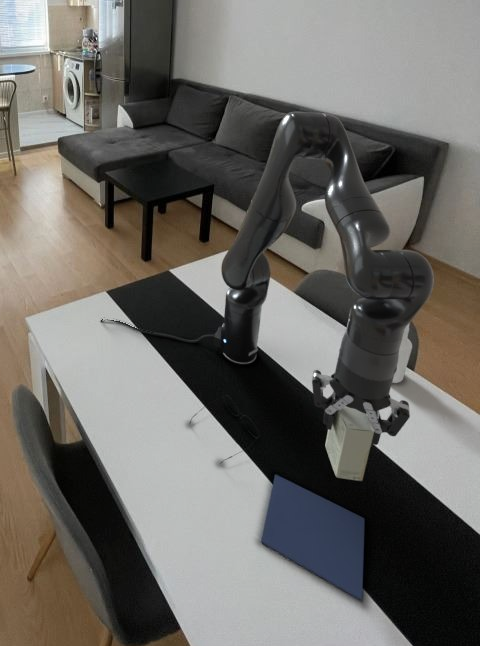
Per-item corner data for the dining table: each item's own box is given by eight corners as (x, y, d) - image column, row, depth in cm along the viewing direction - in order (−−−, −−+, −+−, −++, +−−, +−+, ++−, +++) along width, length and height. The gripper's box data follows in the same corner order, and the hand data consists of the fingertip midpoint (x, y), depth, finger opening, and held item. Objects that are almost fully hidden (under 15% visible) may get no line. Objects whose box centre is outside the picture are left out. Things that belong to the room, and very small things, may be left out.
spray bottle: (398, 365, 114) (413, 312, 108) (406, 386, 108) (423, 331, 102) (368, 360, 116) (381, 307, 110) (375, 380, 110) (389, 325, 104)
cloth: (260, 542, 80) (260, 541, 80) (275, 475, 91) (275, 474, 90) (361, 601, 71) (362, 600, 71) (364, 519, 82) (364, 518, 82)
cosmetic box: (362, 482, 74) (376, 433, 69) (334, 478, 75) (346, 429, 70) (348, 447, 79) (361, 399, 75) (322, 443, 80) (333, 396, 76)
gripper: (421, 360, 67) (398, 435, 74) (318, 329, 75) (305, 399, 81) (425, 397, 62) (400, 474, 68) (313, 358, 69) (300, 431, 75)
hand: (348, 433), depth 74 cm, fingers closed on cosmetic box, 5 cm apart
